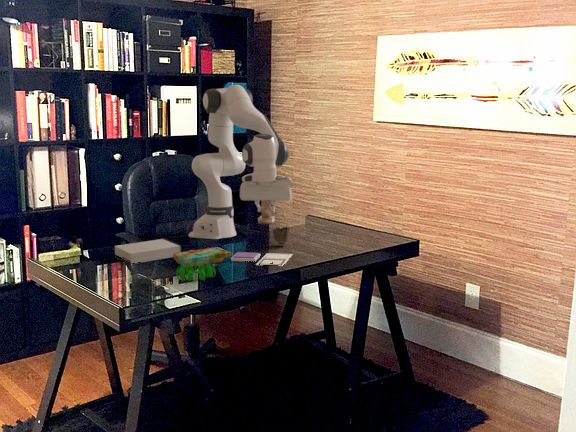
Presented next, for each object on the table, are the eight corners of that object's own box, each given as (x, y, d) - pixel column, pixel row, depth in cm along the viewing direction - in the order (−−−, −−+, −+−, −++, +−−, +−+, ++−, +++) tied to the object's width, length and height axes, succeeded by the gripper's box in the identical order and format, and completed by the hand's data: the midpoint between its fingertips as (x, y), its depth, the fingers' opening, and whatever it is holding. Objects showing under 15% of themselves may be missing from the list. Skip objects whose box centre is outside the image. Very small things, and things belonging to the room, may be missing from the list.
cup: (290, 244, 290) (290, 226, 288) (289, 248, 282) (288, 229, 281) (273, 244, 290) (273, 226, 289) (271, 247, 283) (271, 229, 282)
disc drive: (182, 256, 273) (182, 244, 272) (131, 265, 260) (130, 253, 259) (164, 249, 287) (164, 237, 286) (115, 257, 274) (114, 245, 273)
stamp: (258, 223, 255) (257, 198, 253) (261, 222, 259) (260, 196, 257) (272, 224, 253) (271, 198, 252) (274, 222, 258) (274, 196, 256)
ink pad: (230, 260, 262) (230, 256, 262) (237, 255, 271) (236, 251, 270) (255, 261, 260) (254, 257, 260) (260, 256, 269) (260, 252, 268)
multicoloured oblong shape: (172, 251, 260) (217, 245, 271) (173, 263, 261) (218, 256, 272) (185, 257, 250) (231, 250, 261) (186, 269, 251) (231, 261, 262)
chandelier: (223, 278, 238) (222, 260, 237) (185, 285, 230) (184, 266, 229) (206, 269, 250) (205, 252, 249) (169, 276, 243) (168, 257, 241)
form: (255, 265, 255) (255, 264, 255) (266, 253, 273) (266, 252, 273) (283, 266, 253) (283, 265, 253) (292, 254, 271) (292, 253, 271)
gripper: (293, 175, 254) (294, 210, 256) (242, 175, 258) (243, 210, 261) (289, 177, 248) (290, 213, 250) (237, 177, 252) (239, 212, 255)
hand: (266, 211), depth 256 cm, fingers closed on stamp, 4 cm apart
